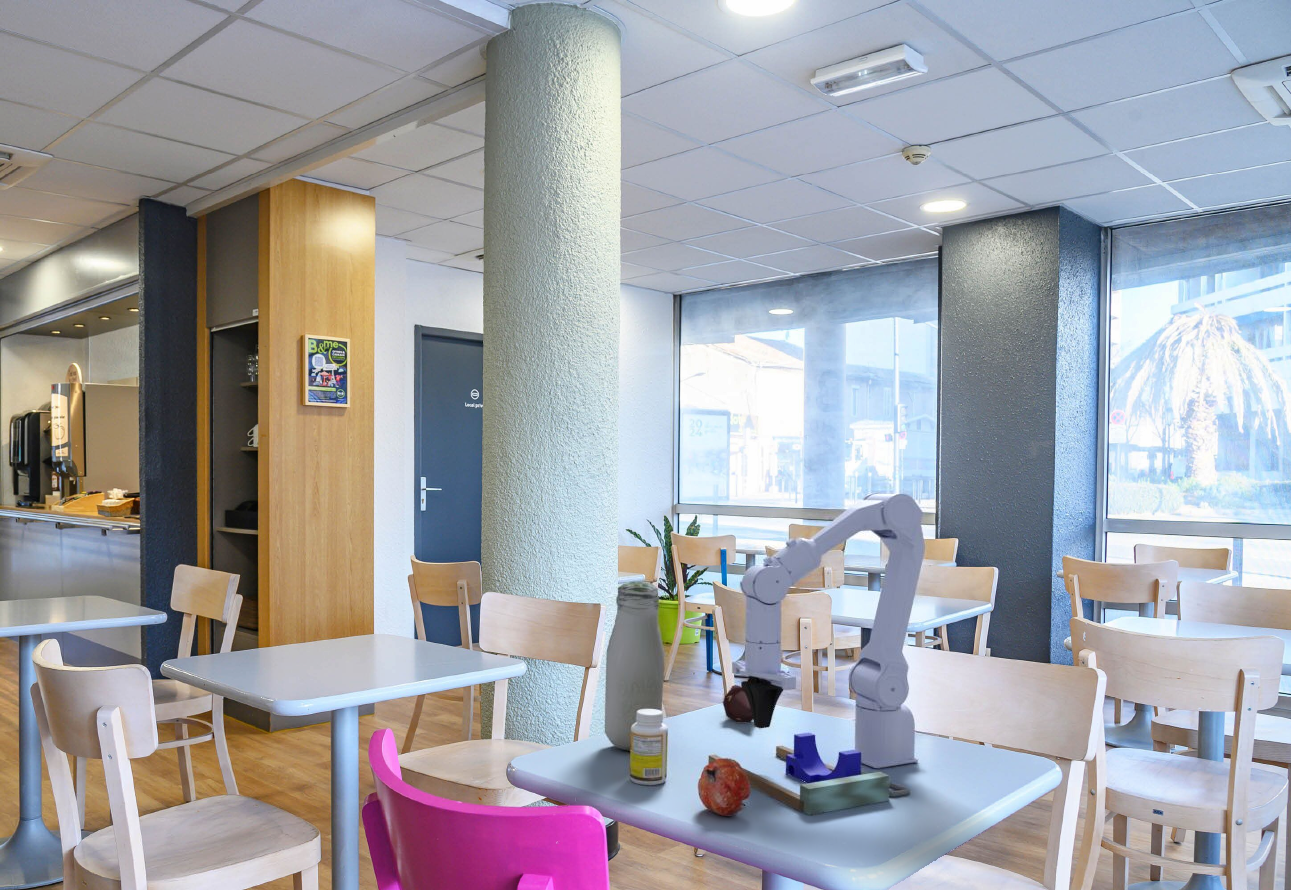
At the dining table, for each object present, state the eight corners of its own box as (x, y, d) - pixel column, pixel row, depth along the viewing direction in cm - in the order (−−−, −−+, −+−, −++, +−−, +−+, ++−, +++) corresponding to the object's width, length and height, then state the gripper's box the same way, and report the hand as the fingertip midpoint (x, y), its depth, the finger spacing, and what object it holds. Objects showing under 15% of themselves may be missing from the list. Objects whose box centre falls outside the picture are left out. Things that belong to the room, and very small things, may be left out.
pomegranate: (717, 816, 129) (672, 781, 125) (746, 772, 131) (703, 736, 127) (747, 840, 123) (701, 803, 119) (778, 793, 125) (733, 756, 121)
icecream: (775, 696, 169) (753, 686, 183) (737, 686, 168) (718, 676, 183) (765, 734, 167) (745, 721, 182) (727, 724, 167) (710, 711, 181)
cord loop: (852, 770, 145) (852, 765, 145) (911, 794, 134) (911, 789, 134) (834, 772, 144) (834, 768, 144) (892, 797, 133) (892, 792, 133)
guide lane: (781, 754, 153) (782, 733, 153) (889, 800, 131) (889, 775, 132) (708, 764, 146) (708, 742, 146) (808, 815, 124) (809, 788, 124)
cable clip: (785, 774, 143) (786, 735, 143) (808, 770, 145) (809, 732, 146) (837, 797, 133) (837, 755, 133) (860, 793, 135) (861, 752, 135)
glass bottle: (610, 758, 148) (615, 584, 150) (598, 741, 158) (603, 578, 160) (669, 756, 150) (673, 584, 152) (653, 739, 160) (658, 578, 162)
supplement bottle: (645, 772, 141) (647, 705, 142) (674, 780, 138) (675, 711, 138) (621, 780, 137) (623, 711, 138) (650, 789, 133) (652, 717, 134)
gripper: (717, 635, 152) (716, 718, 151) (770, 649, 139) (769, 740, 138) (752, 633, 155) (751, 714, 154) (807, 646, 142) (806, 735, 142)
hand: (762, 726), depth 147 cm, fingers closed
